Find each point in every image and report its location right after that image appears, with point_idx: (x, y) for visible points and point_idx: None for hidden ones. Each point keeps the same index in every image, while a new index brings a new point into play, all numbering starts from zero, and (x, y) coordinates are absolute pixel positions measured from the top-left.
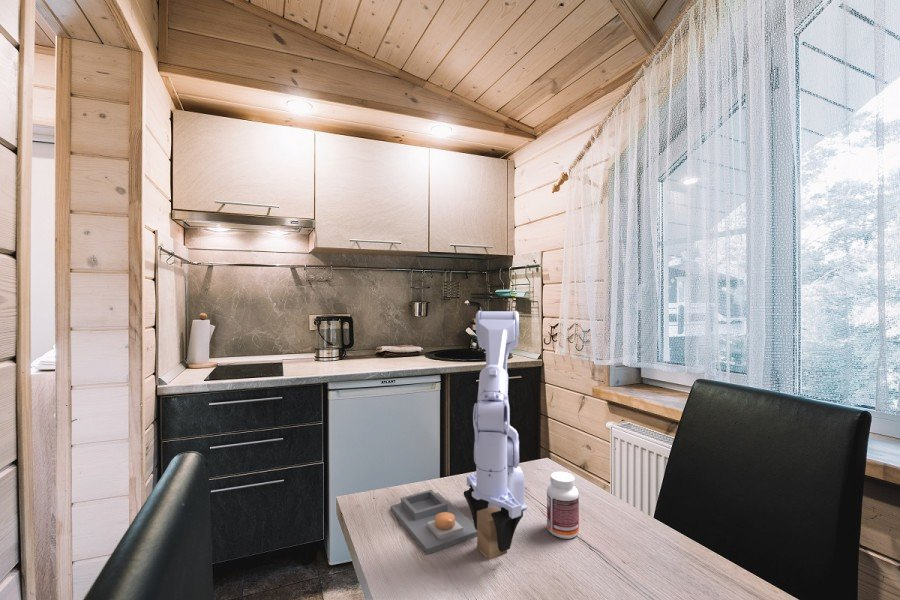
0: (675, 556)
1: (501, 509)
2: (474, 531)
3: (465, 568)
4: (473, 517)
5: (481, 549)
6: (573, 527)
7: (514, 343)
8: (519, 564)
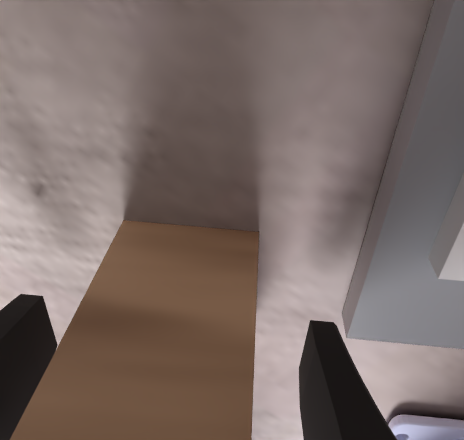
0: None
1: None
2: (367, 307)
3: (111, 42)
4: (347, 399)
5: (207, 239)
6: None
7: None
8: None
